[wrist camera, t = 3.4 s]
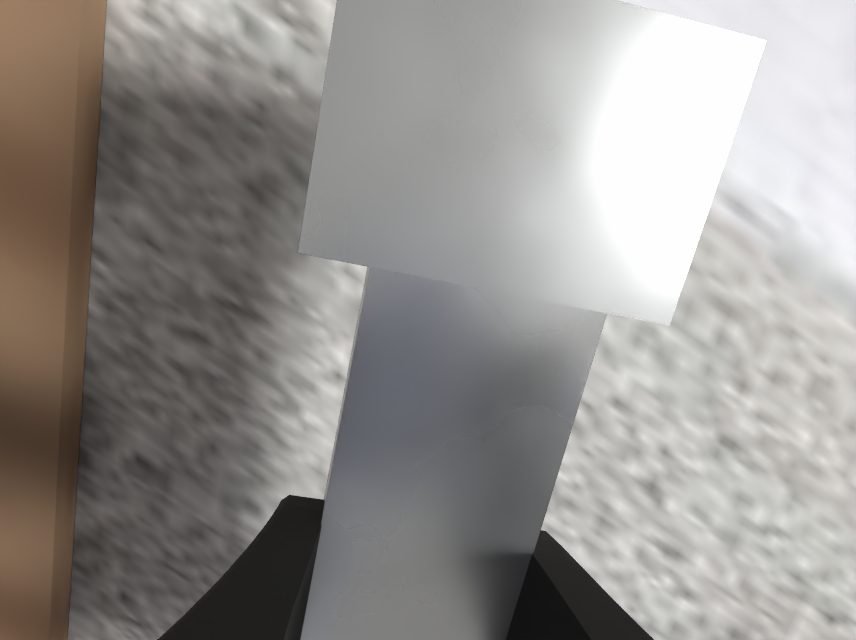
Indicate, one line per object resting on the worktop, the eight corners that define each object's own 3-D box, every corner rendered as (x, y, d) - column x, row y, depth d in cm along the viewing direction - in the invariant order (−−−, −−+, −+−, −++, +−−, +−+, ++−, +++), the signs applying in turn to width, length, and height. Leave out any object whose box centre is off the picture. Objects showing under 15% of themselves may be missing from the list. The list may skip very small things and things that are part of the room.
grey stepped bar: (436, 808, 14) (449, 974, 11) (229, 792, 14) (188, 964, 11) (653, 73, 10) (766, 40, 7) (359, -2, 9) (348, -74, 6)
